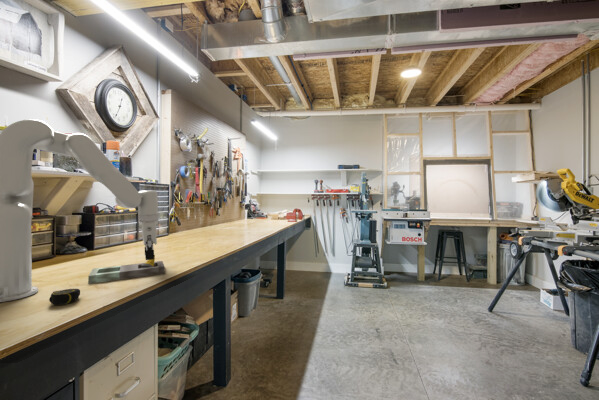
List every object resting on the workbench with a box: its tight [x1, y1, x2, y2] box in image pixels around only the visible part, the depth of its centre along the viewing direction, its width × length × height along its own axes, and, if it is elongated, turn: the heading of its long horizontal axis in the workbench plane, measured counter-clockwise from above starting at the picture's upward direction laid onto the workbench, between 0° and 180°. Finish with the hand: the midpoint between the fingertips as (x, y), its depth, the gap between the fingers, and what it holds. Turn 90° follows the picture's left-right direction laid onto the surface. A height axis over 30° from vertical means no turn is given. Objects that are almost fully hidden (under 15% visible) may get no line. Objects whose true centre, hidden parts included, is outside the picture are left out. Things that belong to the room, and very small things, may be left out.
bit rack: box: [87, 260, 166, 285], centre depth 112 cm, size 26×12×3 cm, turn 122°
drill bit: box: [141, 254, 156, 268], centre depth 116 cm, size 5×5×10 cm
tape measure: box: [48, 288, 81, 306], centre depth 82 cm, size 7×7×4 cm
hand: (149, 257), depth 116 cm, fingers open, 9 cm apart
